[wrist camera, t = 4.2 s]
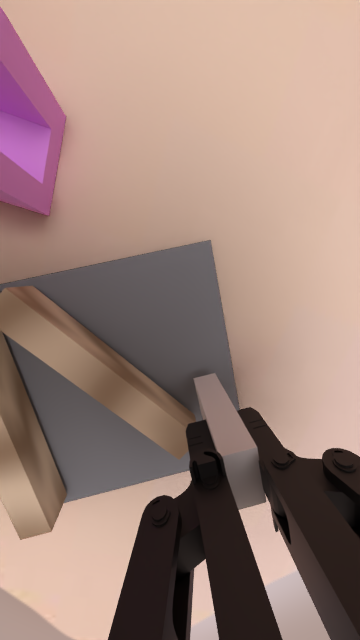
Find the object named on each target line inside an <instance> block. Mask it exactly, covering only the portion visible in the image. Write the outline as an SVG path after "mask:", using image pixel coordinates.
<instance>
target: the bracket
mask: <svg viewBox="0 0 360 640" xmlns="http://www.w3.org/2000/svg"><path fill="white" fill-rule="evenodd" d="M65 121H66V116H65V114H64V112H63V111H62V109H61V107H60V106H59V104H58V102H57V101H56V99H55V97H54V96H53V94H52V92H51V90H50V89H49V87H48V85H47V84H46V82H45V80H44V79H43V77H42V75H41V73H40V72H39V70H38V68H37V67H36V65H35V63H34V62H33V60H32V58H31V57H30V55H29V53H28V51H27V50H26V48H25V46H24V45H23V43H22V41H21V40H20V38H19V36H18V34H17V33H16V31H15V29H14V28H13V26H12V24H11V23H10V21H9V19H8V18H7V16H6V14H5V13H4V11H3V10H2V8H1V7H0V201H2V202H5V203H8V204H12V205H15V206H18V207H21V208H25V209H28V210H31V211H35V212H38V213H41V214H44V215H48V216H49V214H50V208H51V202H52V196H53V190H54V184H55V179H56V173H57V167H58V161H59V155H60V150H61V144H62V138H63V132H64V126H65Z"/></svg>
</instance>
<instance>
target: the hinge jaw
mask: <svg viewBox="0 0 360 640" xmlns="http://www.w3.org/2000/svg"><path fill="white" fill-rule="evenodd" d="M0 331H2V332H3V333H5V334H6V335H7V336H9V337H10V338H11V339H13V340H14V341H16V342H17V343H18V344H20V345H21V346H22V347H24V348H25V349H27V350H28V351H29V352H31V353H32V354H34V355H35V356H36V357H38V358H39V359H40V360H42V361H43V362H45V363H46V364H47V365H49V366H50V367H51V368H53V369H54V370H56V371H57V372H58V373H60V374H61V375H62V376H64V377H65V378H67V379H68V380H69V381H71V382H72V383H74V384H75V385H76V386H78V387H79V388H80V389H82V390H83V391H85V392H86V393H87V394H89V395H90V396H91V397H93V398H94V399H96V400H97V401H98V402H100V403H101V404H103V405H104V406H105V407H107V408H108V409H109V410H111V411H112V412H114V413H115V414H116V415H118V416H119V417H120V418H122V419H123V420H125V421H126V422H127V423H129V424H130V425H132V426H133V427H134V428H136V429H137V430H138V431H140V432H141V433H143V434H144V435H145V436H147V437H148V438H149V439H151V440H152V441H154V442H155V443H156V444H158V445H159V446H161V447H162V448H163V449H165V450H166V451H167V452H169V453H170V454H172V455H173V456H174V457H176V458H177V459H178V460H180V459H181V458H182V457H183V456H184V455H185V454H186V453H187V452H188V451H189V450H188V444H187V438H186V432H185V431H186V428H187V426H188V424H190V423H194V422H196V419H195V415H194V414H193V413H192V412H191V411H189V410H188V409H187V408H186V407H184V406H183V405H182V404H181V403H179V402H178V401H177V400H176V399H174V398H173V397H172V396H171V395H169V394H168V393H167V392H166V391H164V390H163V389H162V388H161V387H159V386H158V385H157V384H155V383H154V382H153V381H152V380H150V379H149V378H148V377H147V376H145V375H144V374H143V373H142V372H140V371H139V370H138V369H137V368H135V367H134V366H133V365H132V364H130V363H129V362H128V361H127V360H125V359H124V358H123V357H122V356H120V355H119V354H118V353H117V352H115V351H114V350H113V349H112V348H110V347H109V346H108V345H107V344H105V343H104V342H103V341H101V340H100V339H99V338H98V337H96V336H95V335H94V334H93V333H91V332H90V331H89V330H88V329H86V328H85V327H84V326H83V325H81V324H80V323H79V322H78V321H76V320H75V319H74V318H73V317H71V316H70V315H69V314H68V313H66V312H65V311H64V310H63V309H61V308H60V307H59V306H58V305H56V304H55V303H54V302H53V301H51V300H50V299H49V298H48V297H46V296H45V295H44V294H42V293H41V292H40V291H39V290H37V289H36V288H35V287H34V286H22V287H9V288H4V290H3V291H2V292H1V293H0Z"/></svg>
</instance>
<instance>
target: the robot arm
mask: <svg viewBox="0 0 360 640" xmlns="http://www.w3.org/2000/svg"><path fill="white" fill-rule="evenodd" d="M193 379H194V383H195V388H196V392H197V396H198V401H199V405H200V410H201V414H202V417H203V420H201V421H197V422H194V423H190V424H188V426H187V428H186V431H185V432H186V438H187V444H188V450H189V456H190V461H189V469H190V473H191V477H192V481H191V483H190V485H189V487H188V488H187V489H186V491H185V492H183V493H182V494H181V495H179V496H178V497H176V498H175V499H173V498H172V497H170V496H165V495H163V496H159V497H156V498H155V499H153V500H152V501H150V503H149V504H148V505H147V506H146V508H145V510H144V512H143V514H142V518H141V521H140V525H139V529H138V532H137V536H136V540H135V543H134V547H133V550H132V554H131V558H130V561H129V565H128V569H127V572H126V576H125V579H124V583H123V587H122V590H121V594H120V597H119V601H118V605H117V608H116V612H115V616H114V619H113V623H112V626H111V630H110V634H109V637H108V640H190V630H191V612H192V595H193V578H194V568H195V567H196V566H197V565H199V564H200V563H201V562H202V561H203V560H205V559H206V563H207V569H208V575H209V581H210V587H211V593H212V599H213V605H214V611H215V617H216V623H217V629H218V635H219V640H282V637H281V634H280V631H279V628H278V625H277V622H276V619H275V616H274V613H273V610H272V607H271V604H270V602H269V599H268V596H267V593H266V590H265V587H264V584H263V581H262V578H261V575H260V572H259V569H258V566H257V563H256V560H255V557H254V554H253V552H252V549H251V546H250V543H249V540H248V537H247V534H246V531H245V528H244V525H243V522H242V519H241V516H240V513H239V510H240V509H243V508H247V507H250V506H254V505H258V504H261V503H265V502H266V497H265V494H266V496H267V498H268V500H269V502H270V505H271V511H272V517H273V523H274V528H275V531H276V532H278V528H279V530H280V533H281V535H282V537H283V539H284V541H285V543H286V545H287V547H288V550H289V552H290V554H291V556H292V558H293V560H294V562H295V565H296V567H297V569H298V571H299V573H300V575H301V577H302V579H303V582H304V584H305V586H306V588H307V590H308V592H309V594H310V596H311V598H312V601H313V603H314V605H315V607H316V609H317V611H318V614H319V616H320V617H321V620H322V622H323V624H324V626H325V628H326V631H327V633H328V635H329V637H330V639H331V640H360V457H359V456H358V455H356V454H354V453H352V452H350V451H348V450H344V449H341V448H332V449H328V450H326V451H325V452H324V453H323V456H322V459H307V458H301V457H297V456H296V455H295V454H294V453H293V452H291V451H290V450H288V449H285V448H284V447H283V445H282V444H281V443H280V441H279V440H278V439H277V437H276V436H275V434H274V433H273V432H272V430H271V429H270V428H269V426H268V425H267V423H266V422H265V421H264V420H263V418H262V417H261V415H260V414H259V412H257V411H256V410H254V409H253V408H251V407H249V408H245V409H241V410H237V411H236V409H235V407H234V406H233V404H232V402H231V400H230V399H229V397H228V395H227V393H226V392H225V390H224V388H223V386H222V385H221V383H220V381H219V379H218V378H217V376H216V374H215V373H213V374H209V375H205V376H201V377H197V378H193Z"/></svg>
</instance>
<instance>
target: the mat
mask: <svg viewBox="0 0 360 640" xmlns="http://www.w3.org/2000/svg"><path fill="white" fill-rule="evenodd" d="M22 286H34V287H35V288H36V289H37V290H39V291H40V292H41V293H42V294H44V295H45V296H46V297H48V298H49V299H50V300H51V301H53V302H54V303H55V304H56V305H58V306H59V307H60V308H61V309H63V310H64V311H65V312H66V313H68V314H69V315H70V316H71V317H73V318H74V319H75V320H76V321H78V322H79V323H80V324H81V325H83V326H84V327H85V328H86V329H88V330H89V331H90V332H91V333H93V334H94V335H95V336H96V337H98V338H99V339H100V340H101V341H103V342H104V343H105V344H107V345H108V346H109V347H110V348H112V349H113V350H114V351H115V352H117V353H118V354H119V355H120V356H122V357H123V358H124V359H125V360H127V361H128V362H129V363H130V364H132V365H133V366H134V367H135V368H137V369H138V370H139V371H140V372H142V373H143V374H144V375H145V376H147V377H148V378H149V379H150V380H152V381H153V382H154V383H155V384H157V385H158V386H159V387H161V388H162V389H163V390H164V391H166V392H167V393H168V394H169V395H171V396H172V397H173V398H174V399H176V400H177V401H178V402H179V403H181V404H182V405H183V406H184V407H186V408H187V409H188V410H189V411H191V412H192V413H193V414H194V415H195V419H196V422H197V421H201V420H203V417H202V414H201V410H200V405H199V401H198V396H197V392H196V388H195V383H194V379H193V378H197V377H201V376H205V375H209V374H213V373H215V374H216V376H217V378H218V379H219V381H220V383H221V385H222V386H223V388H224V390H225V392H226V393H227V395H228V397H229V399H230V400H231V402H232V404H233V406H234V407H235V409H236V411H237V410H240V409H239V403H238V397H237V391H236V385H235V380H234V374H233V368H232V362H231V356H230V350H229V345H228V339H227V333H226V327H225V321H224V316H223V310H222V304H221V298H220V292H219V286H218V281H217V275H216V269H215V263H214V257H213V251H212V246H211V240H208V241H204V242H199V243H194V244H189V245H185V246H180V247H175V248H170V249H166V250H161V251H156V252H151V253H147V254H142V255H137V256H133V257H128V258H123V259H118V260H114V261H109V262H104V263H99V264H95V265H90V266H85V267H80V268H76V269H71V270H66V271H61V272H57V273H52V274H47V275H42V276H38V277H33V278H28V279H23V280H19V281H14V282H9V283H5V284H0V291H3V290H4V288H9V287H22ZM2 333H3V332H2ZM3 335H4V338H5V340H6V343H7V345H8V348H9V350H10V353H11V355H12V358H13V360H14V363H15V365H16V368H17V370H18V373H19V375H20V378H21V380H22V383H23V385H24V388H25V390H26V393H27V395H28V398H29V400H30V403H31V405H32V408H33V410H34V413H35V415H36V418H37V420H38V423H39V425H40V428H41V430H42V433H43V435H44V438H45V440H46V443H47V445H48V448H49V450H50V453H51V455H52V458H53V460H54V463H55V465H56V468H57V470H58V473H59V475H60V478H61V480H62V483H63V485H64V488H65V490H66V493H67V496H66V498H65V501H64V503H66V502H69V501H73V500H77V499H81V498H85V497H89V496H92V495H96V494H100V493H104V492H108V491H112V490H116V489H119V488H123V487H127V486H131V485H135V484H139V483H142V482H146V481H150V480H154V479H158V478H162V477H165V476H169V475H173V474H177V473H181V472H185V471H188V470H190V469H189V461H190V456H189V451H188V452H187V453H186V454H185V455H184V456H183V457H182V458H181V459H180V460H178V459H177V458H176V457H174V456H173V455H172V454H170V453H169V452H167V451H166V450H165V449H163V448H162V447H161V446H159V445H158V444H156V443H155V442H154V441H152V440H151V439H149V438H148V437H147V436H145V435H144V434H143V433H141V432H140V431H138V430H137V429H136V428H134V427H133V426H132V425H130V424H129V423H127V422H126V421H125V420H123V419H122V418H120V417H119V416H118V415H116V414H115V413H114V412H112V411H111V410H109V409H108V408H107V407H105V406H104V405H103V404H101V403H100V402H98V401H97V400H96V399H94V398H93V397H91V396H90V395H89V394H87V393H86V392H85V391H83V390H82V389H80V388H79V387H78V386H76V385H75V384H74V383H72V382H71V381H69V380H68V379H67V378H65V377H64V376H62V375H61V374H60V373H58V372H57V371H56V370H54V369H53V368H51V367H50V366H49V365H47V364H46V363H45V362H43V361H42V360H40V359H39V358H38V357H36V356H35V355H34V354H32V353H31V352H29V351H28V350H27V349H25V348H24V347H22V346H21V345H20V344H18V343H17V342H16V341H14V340H13V339H11V338H10V337H9V336H7V335H6V334H5V333H3Z"/></svg>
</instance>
